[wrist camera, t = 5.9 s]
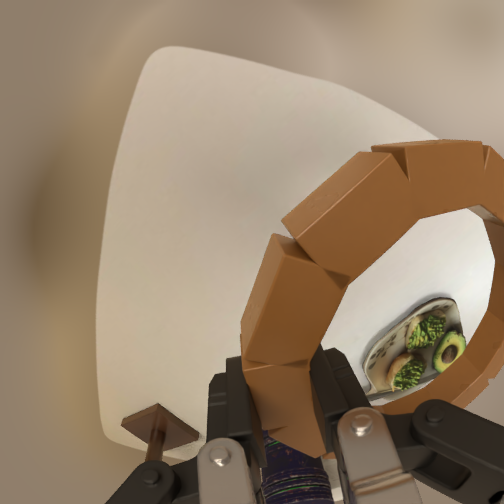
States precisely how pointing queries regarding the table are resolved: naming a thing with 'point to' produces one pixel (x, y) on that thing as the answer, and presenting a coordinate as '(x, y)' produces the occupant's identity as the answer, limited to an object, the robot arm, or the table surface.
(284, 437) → the ring
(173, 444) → the peg
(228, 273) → the table surface
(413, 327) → the avocado toast plate
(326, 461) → the small box
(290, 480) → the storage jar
